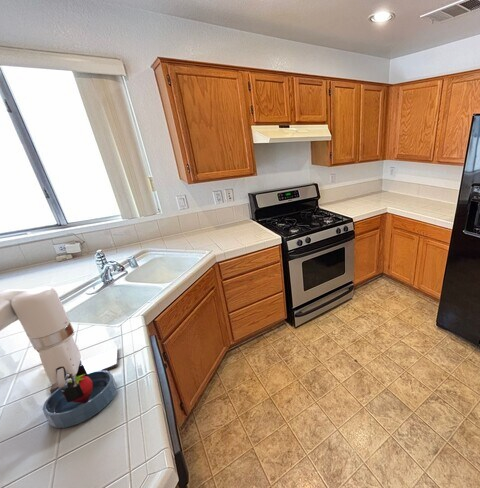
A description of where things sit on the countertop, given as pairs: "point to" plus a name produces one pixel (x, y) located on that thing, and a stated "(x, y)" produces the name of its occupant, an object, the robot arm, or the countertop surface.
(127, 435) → the countertop surface
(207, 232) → the countertop surface
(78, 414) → the basin
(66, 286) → the countertop surface
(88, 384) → the strawberry
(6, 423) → the countertop surface
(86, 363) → the board
